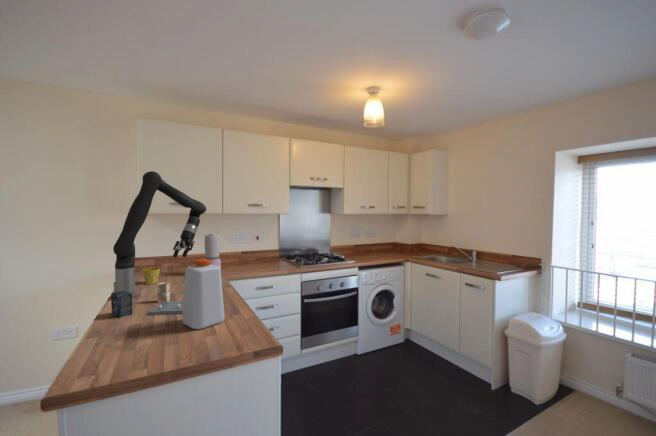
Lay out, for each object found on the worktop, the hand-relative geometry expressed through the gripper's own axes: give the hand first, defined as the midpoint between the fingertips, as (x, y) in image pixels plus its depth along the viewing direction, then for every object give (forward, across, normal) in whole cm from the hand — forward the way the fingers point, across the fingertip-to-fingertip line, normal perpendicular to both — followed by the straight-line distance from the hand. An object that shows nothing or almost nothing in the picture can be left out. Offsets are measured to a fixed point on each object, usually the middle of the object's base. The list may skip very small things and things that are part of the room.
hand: (179, 257), depth 178 cm
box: (+38, +4, -19) cm, 42 cm away
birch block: (+26, +2, 0) cm, 26 cm away
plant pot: (+11, -44, +17) cm, 49 cm away
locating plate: (+30, +18, -4) cm, 36 cm away
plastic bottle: (+36, +47, -7) cm, 60 cm away
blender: (-8, -30, +52) cm, 61 cm away
